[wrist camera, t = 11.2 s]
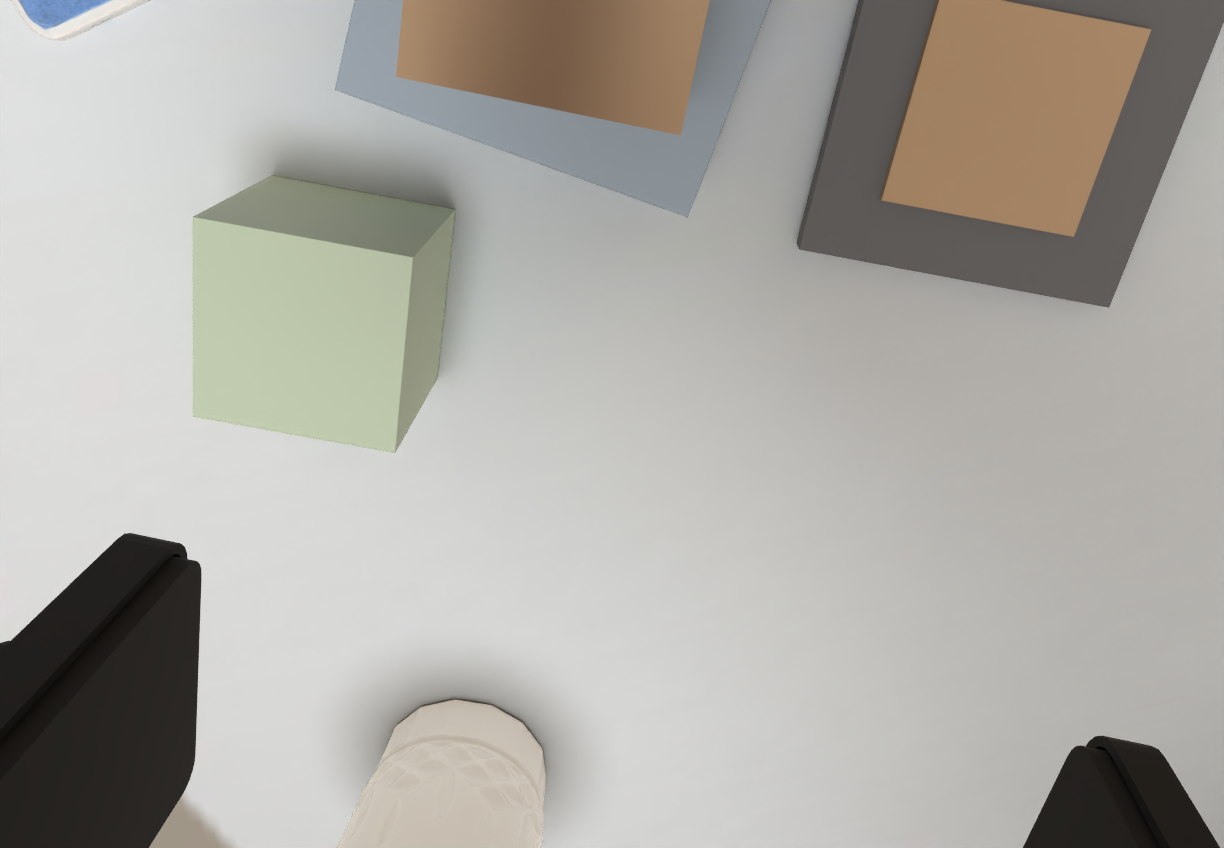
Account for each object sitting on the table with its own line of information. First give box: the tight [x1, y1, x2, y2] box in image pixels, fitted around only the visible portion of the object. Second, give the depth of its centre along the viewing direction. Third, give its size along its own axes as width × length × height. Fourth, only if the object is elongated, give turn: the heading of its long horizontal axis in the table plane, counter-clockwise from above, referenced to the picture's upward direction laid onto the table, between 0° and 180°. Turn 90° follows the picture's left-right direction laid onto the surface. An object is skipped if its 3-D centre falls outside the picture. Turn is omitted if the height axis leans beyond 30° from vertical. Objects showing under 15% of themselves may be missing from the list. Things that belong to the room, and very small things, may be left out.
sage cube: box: [193, 175, 456, 453], centre depth 31 cm, size 6×6×6 cm
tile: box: [797, 0, 1224, 307], centre depth 30 cm, size 10×10×1 cm
